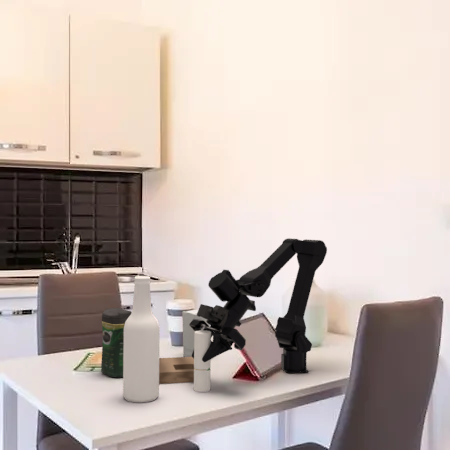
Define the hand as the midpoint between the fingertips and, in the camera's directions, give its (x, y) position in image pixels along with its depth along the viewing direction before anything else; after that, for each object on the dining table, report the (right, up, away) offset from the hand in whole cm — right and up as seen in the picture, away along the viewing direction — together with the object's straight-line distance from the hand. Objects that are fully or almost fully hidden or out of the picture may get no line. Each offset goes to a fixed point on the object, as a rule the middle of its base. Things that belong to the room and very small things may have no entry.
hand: (197, 359), depth 151 cm
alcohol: (-14, -8, -6) cm, 17 cm away
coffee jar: (-23, -8, +15) cm, 29 cm away
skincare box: (-2, -8, +35) cm, 36 cm away
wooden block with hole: (-8, -8, +14) cm, 18 cm away
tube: (+1, -8, +1) cm, 8 cm away
